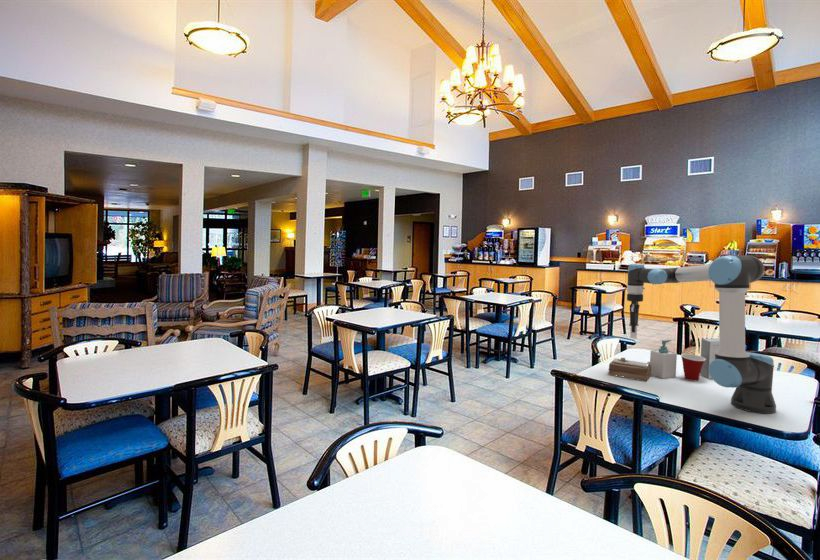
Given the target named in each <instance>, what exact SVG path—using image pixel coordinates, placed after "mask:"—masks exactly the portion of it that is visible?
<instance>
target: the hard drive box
mask: <svg viewBox="0 0 820 560" xmlns="http://www.w3.org/2000/svg"><path fill="white" fill-rule="evenodd" d="M718 350H719V338H701V339H700V356H701V357H703V358H705V359H706V360H705V361H704V363H703V365H702V368H701V372H700V375H699V376H701V375H702V377H703V376H704V378H705V379H707V380H713V379H712V378H711V376H710V374H709V365H710V363H711V362H712V361H713V360H715V352H716V351H718Z"/></svg>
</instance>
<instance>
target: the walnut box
mask: <svg viewBox="0 0 820 560" xmlns="http://www.w3.org/2000/svg"><path fill="white" fill-rule="evenodd" d="M620 359H621V361H624V362H625V360H626V357H621V358H620ZM646 363H649V366H644V367H640V366H634V365H628V364H622V363H616V362H613V360H612V361H610V362H609V364H608V375H609V374H610V375H609V376H612V375H617V376H616V377H618V376H624V377H629V378H628V379H630V378H634V379H633V380H636V379H639V380H638V381H642V380H643V381H644V382H648V380H649V379H650V377H651V376H652V375H651V363H650V361H647V362H646ZM624 377H623V378H624Z"/></svg>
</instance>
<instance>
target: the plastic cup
mask: <svg viewBox="0 0 820 560" xmlns="http://www.w3.org/2000/svg"><path fill="white" fill-rule="evenodd" d="M680 356H681V360H682V368H683V373H684V374H683V375H684V379H686V380H687V379H688V381H692V380H697V381H699V378H700V376H701V375H700V372H701V368H702V365H703V363H704V361H705V360H706V359H705V358H703V357H701V355H697V354H691V353H681V354H680Z"/></svg>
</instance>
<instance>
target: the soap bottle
mask: <svg viewBox="0 0 820 560" xmlns="http://www.w3.org/2000/svg"><path fill="white" fill-rule="evenodd" d="M660 341H662V342H661V346H660V347H659V349H652V350H650V353H649V354H650V355H649V356H650V357H649V360H650V361H649V362H650V363H651V376H655V377H657V378H660V379H671V378H676V375H677V360H678V359H677V358H678V353H677V352H674V351H670V350H669V349H668V346H666V344H668V343H669V342H671V341H672V340H671V339H660Z"/></svg>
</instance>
